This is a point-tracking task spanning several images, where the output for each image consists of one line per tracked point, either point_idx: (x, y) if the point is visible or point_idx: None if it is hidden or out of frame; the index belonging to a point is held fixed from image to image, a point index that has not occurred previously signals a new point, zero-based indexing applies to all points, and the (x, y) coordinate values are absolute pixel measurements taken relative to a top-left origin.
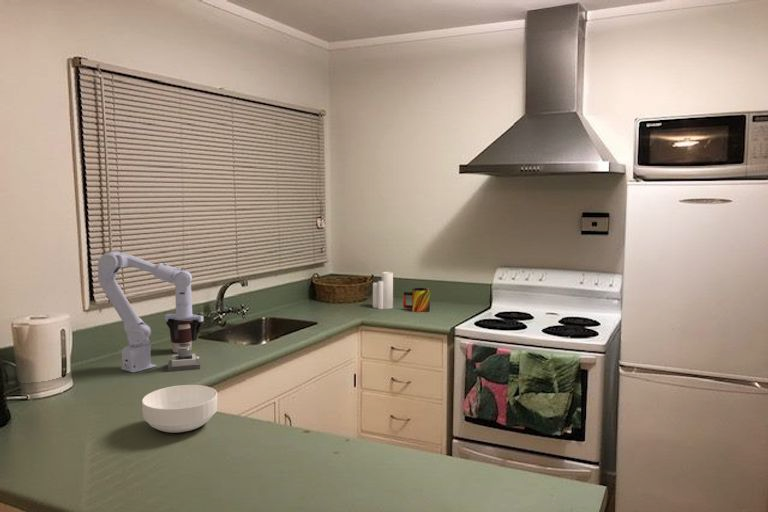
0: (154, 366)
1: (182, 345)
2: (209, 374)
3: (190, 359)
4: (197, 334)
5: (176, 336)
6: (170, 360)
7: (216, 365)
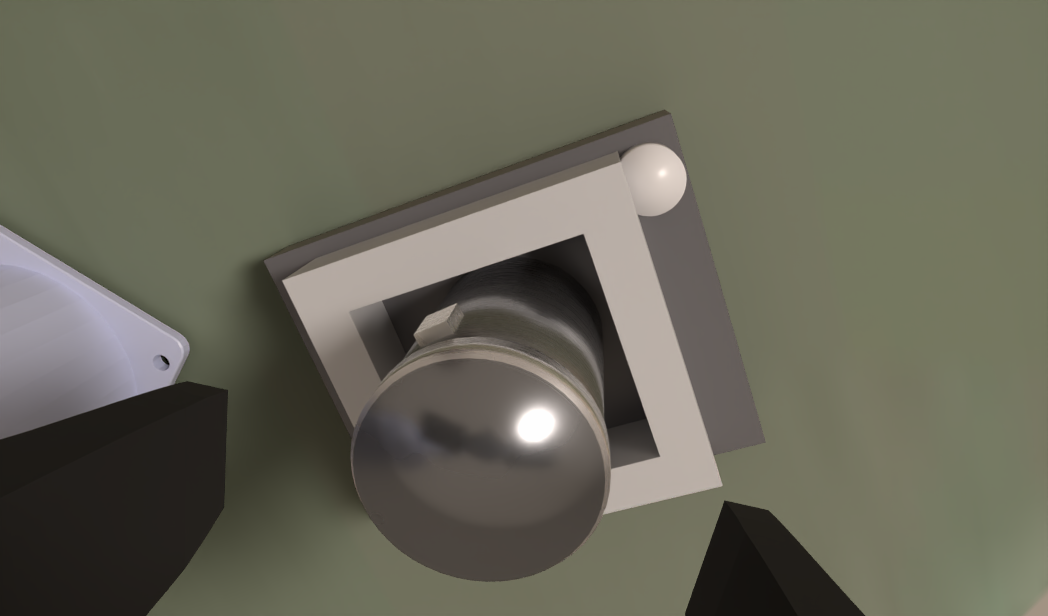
0: (179, 366)
1: (456, 507)
2: (914, 599)
3: (647, 493)
4: (847, 613)
5: (187, 496)
6: (288, 261)
7: (955, 263)
